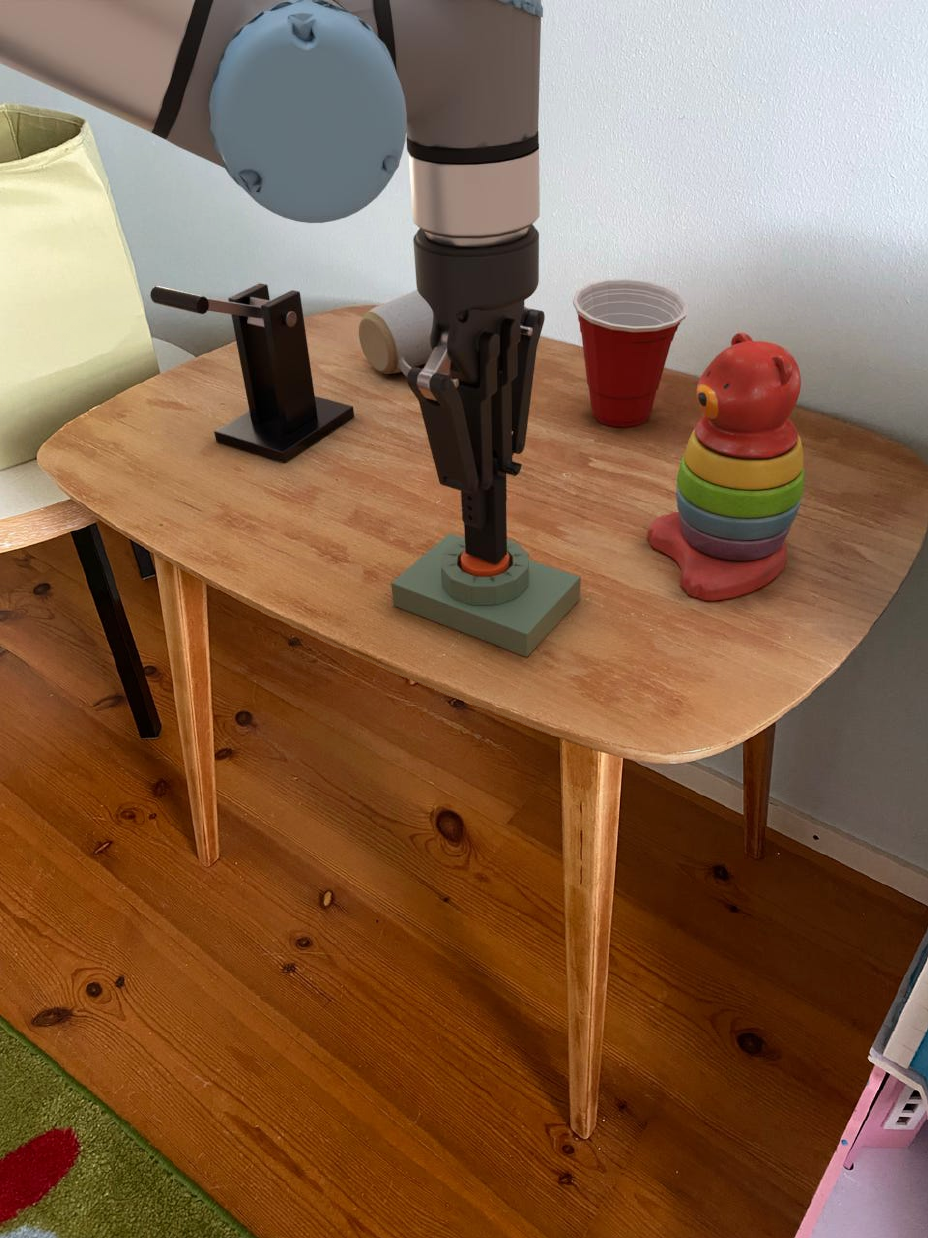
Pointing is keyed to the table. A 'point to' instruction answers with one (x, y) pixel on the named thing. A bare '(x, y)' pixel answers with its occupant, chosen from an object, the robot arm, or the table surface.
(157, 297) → the lever
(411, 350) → the ceramic mug
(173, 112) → the robot arm
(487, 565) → the button
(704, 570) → the stacking bear
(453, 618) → the control block
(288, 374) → the bracket
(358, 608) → the table surface
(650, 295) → the plastic cup
